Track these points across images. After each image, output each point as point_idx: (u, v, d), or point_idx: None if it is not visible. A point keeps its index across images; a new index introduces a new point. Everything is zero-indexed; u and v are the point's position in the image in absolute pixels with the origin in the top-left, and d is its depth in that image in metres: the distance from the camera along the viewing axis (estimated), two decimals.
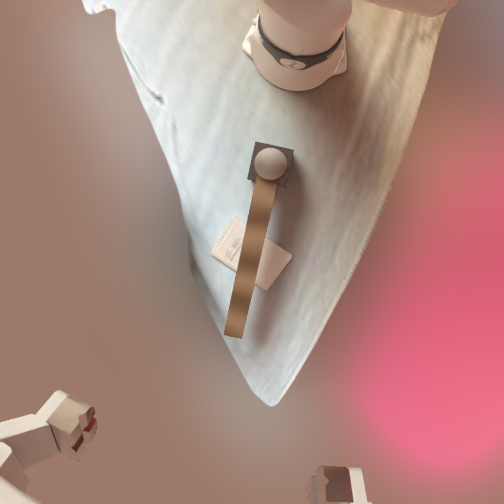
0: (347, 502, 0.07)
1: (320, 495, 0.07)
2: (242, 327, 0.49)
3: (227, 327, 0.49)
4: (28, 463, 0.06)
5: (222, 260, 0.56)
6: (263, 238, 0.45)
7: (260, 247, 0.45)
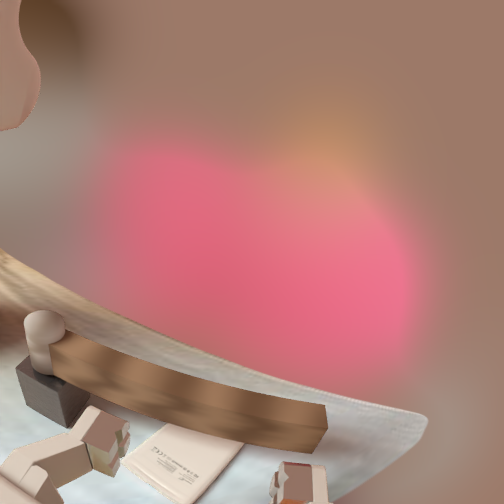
0: (307, 500, 0.07)
1: (279, 492, 0.07)
2: (303, 403, 0.25)
3: (310, 422, 0.23)
4: (59, 483, 0.06)
5: (198, 489, 0.22)
6: (143, 361, 0.25)
7: (156, 367, 0.25)
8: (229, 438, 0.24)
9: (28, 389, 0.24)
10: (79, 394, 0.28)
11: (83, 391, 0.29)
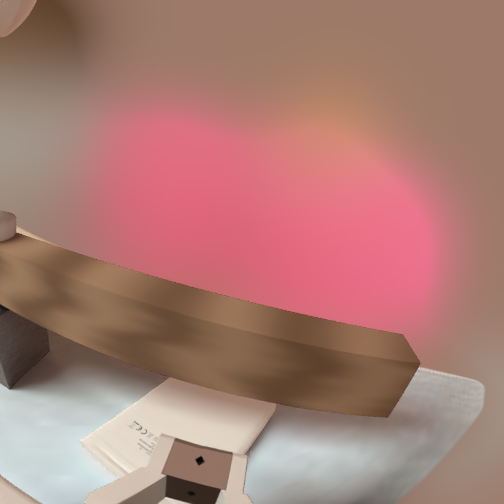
0: (221, 488, 0.07)
1: (195, 476, 0.07)
2: (373, 331, 0.16)
3: (393, 355, 0.14)
4: None
5: None
6: (116, 267, 0.16)
7: (137, 274, 0.16)
8: (256, 397, 0.15)
9: None
10: (30, 341, 0.18)
11: (38, 338, 0.19)
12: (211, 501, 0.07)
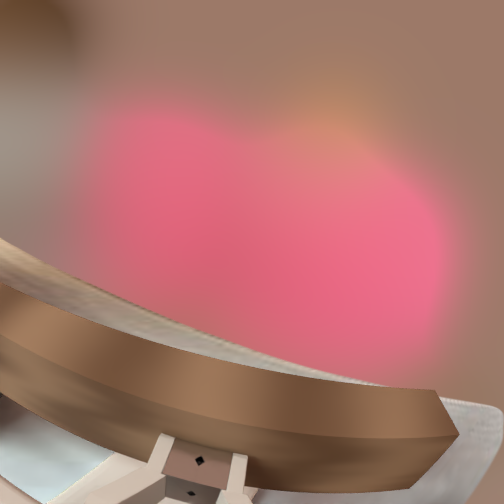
0: (222, 489, 0.07)
1: (195, 476, 0.07)
2: (400, 392, 0.11)
3: (428, 429, 0.09)
4: None
5: None
6: (54, 310, 0.11)
7: (79, 322, 0.11)
8: None
9: None
10: None
11: None
12: (211, 501, 0.07)
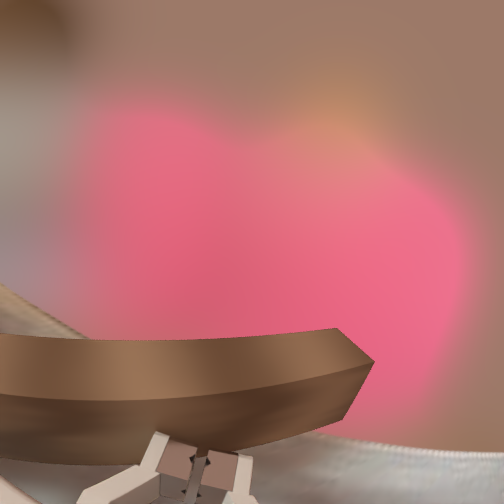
0: (228, 490, 0.07)
1: None
2: (307, 335, 0.14)
3: (345, 362, 0.12)
4: None
5: None
6: None
7: None
8: (199, 455, 0.10)
9: None
10: None
11: None
12: (217, 502, 0.07)
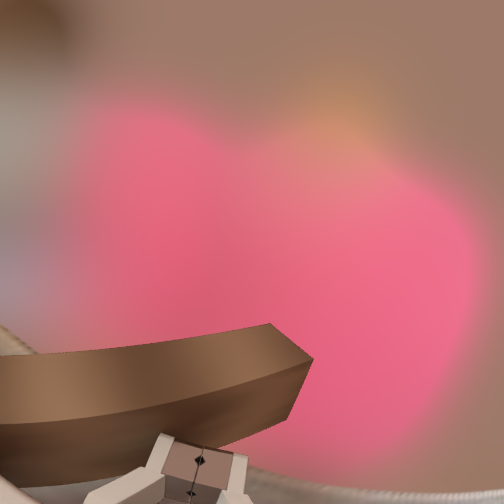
0: (222, 489, 0.07)
1: (196, 476, 0.07)
2: (237, 334, 0.13)
3: (280, 362, 0.12)
4: None
5: None
6: None
7: None
8: None
9: None
10: None
11: None
12: (212, 501, 0.07)
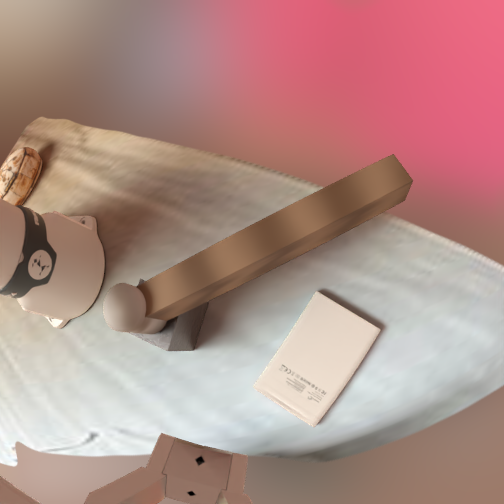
0: (222, 488, 0.07)
1: (195, 476, 0.07)
2: (376, 165, 0.24)
3: (396, 183, 0.23)
4: None
5: (325, 407, 0.29)
6: (220, 243, 0.26)
7: (236, 237, 0.26)
8: (336, 236, 0.27)
9: None
10: (193, 319, 0.33)
11: (197, 311, 0.34)
12: (211, 501, 0.07)
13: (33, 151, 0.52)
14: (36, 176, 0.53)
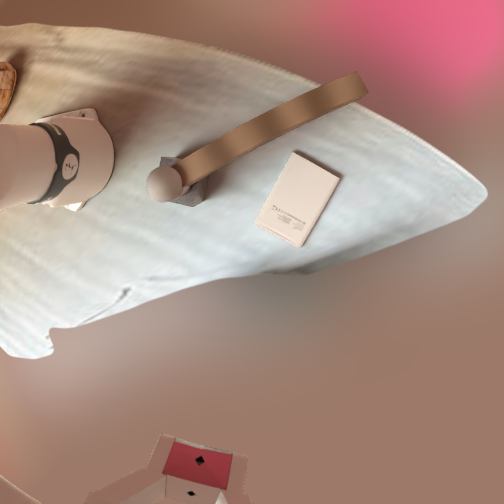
0: (222, 488, 0.07)
1: (195, 476, 0.07)
2: (343, 79, 0.32)
3: (356, 93, 0.32)
4: None
5: (306, 233, 0.47)
6: (233, 131, 0.35)
7: (245, 126, 0.34)
8: (310, 120, 0.37)
9: None
10: (204, 179, 0.45)
11: None
12: (211, 501, 0.07)
13: (6, 64, 0.39)
14: (13, 85, 0.43)
